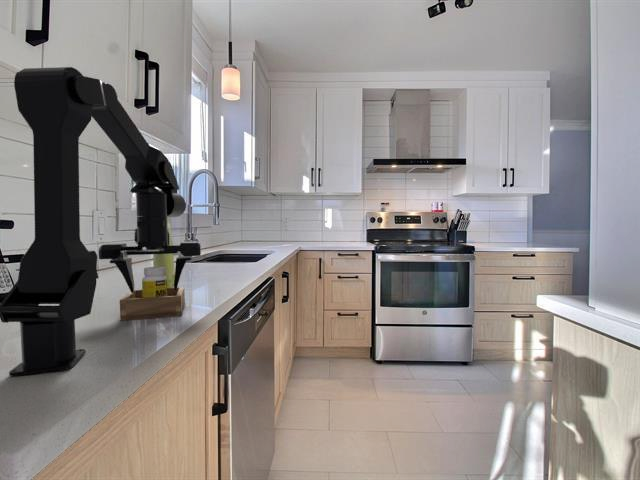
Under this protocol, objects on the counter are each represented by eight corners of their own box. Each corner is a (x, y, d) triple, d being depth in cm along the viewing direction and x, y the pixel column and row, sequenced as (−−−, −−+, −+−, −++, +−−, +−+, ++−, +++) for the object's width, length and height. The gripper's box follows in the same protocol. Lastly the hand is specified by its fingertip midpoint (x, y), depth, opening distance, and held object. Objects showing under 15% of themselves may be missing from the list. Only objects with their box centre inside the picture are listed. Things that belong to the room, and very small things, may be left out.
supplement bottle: (157, 310, 71) (156, 269, 71) (137, 309, 72) (136, 268, 72) (172, 305, 76) (171, 266, 76) (153, 304, 77) (152, 266, 76)
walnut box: (181, 315, 71) (181, 296, 71) (120, 320, 68) (119, 300, 67) (184, 303, 81) (184, 286, 81) (132, 307, 78) (131, 289, 78)
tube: (180, 301, 84) (178, 219, 83) (158, 305, 80) (156, 219, 79) (171, 297, 88) (169, 219, 87) (149, 301, 84) (147, 219, 84)
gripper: (200, 217, 84) (201, 282, 84) (111, 217, 78) (114, 287, 79) (199, 216, 73) (201, 290, 74) (96, 216, 67) (99, 297, 68)
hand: (154, 291), depth 74 cm, fingers open, 8 cm apart
